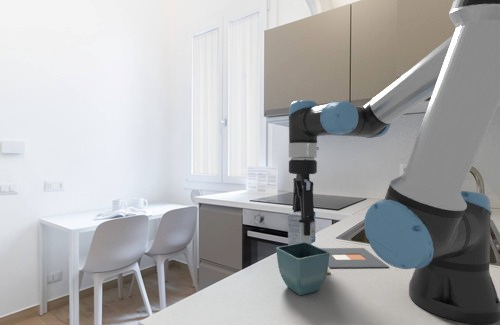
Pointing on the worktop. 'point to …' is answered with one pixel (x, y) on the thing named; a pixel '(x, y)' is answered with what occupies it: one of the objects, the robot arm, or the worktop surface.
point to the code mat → (353, 258)
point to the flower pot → (302, 266)
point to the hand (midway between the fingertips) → (301, 241)
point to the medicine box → (297, 228)
